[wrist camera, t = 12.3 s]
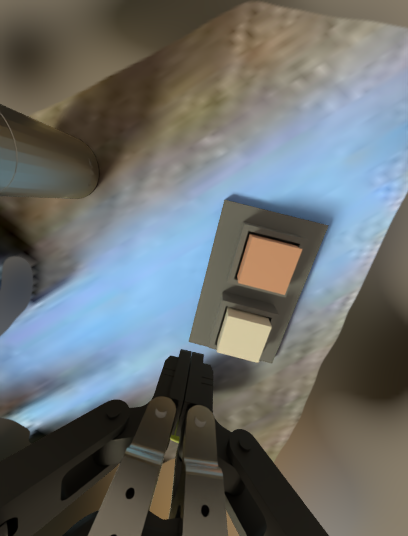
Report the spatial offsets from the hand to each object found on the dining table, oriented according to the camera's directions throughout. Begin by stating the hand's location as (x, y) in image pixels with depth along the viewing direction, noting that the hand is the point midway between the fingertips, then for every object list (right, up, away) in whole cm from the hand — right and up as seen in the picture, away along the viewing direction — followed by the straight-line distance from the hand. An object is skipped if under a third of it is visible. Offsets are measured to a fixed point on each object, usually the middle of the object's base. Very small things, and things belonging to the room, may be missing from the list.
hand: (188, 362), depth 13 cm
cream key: (+7, -4, +22) cm, 23 cm away
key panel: (+9, +3, +24) cm, 26 cm away
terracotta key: (+10, +7, +18) cm, 22 cm away
